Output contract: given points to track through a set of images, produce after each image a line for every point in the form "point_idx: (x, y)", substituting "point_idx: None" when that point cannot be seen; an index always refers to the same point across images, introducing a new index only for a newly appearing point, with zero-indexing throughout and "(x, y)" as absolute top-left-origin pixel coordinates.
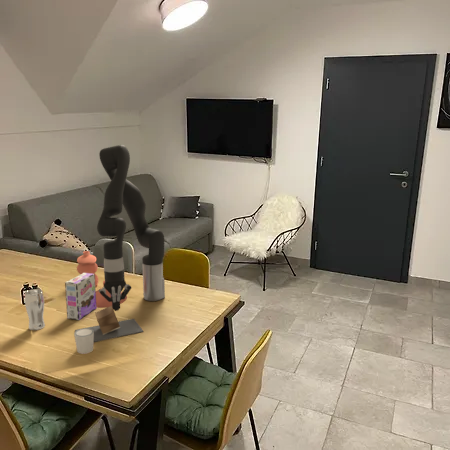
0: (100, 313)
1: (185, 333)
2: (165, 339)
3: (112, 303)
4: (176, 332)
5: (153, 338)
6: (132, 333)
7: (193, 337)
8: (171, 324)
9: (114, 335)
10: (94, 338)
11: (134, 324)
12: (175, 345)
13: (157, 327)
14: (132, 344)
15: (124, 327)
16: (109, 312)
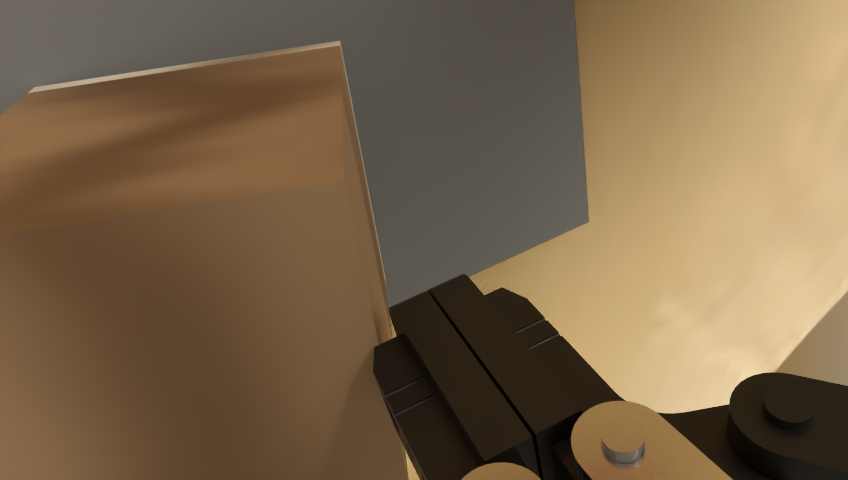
0: (63, 390)
1: (828, 248)
2: (688, 338)
3: (428, 470)
4: (791, 232)
5: (622, 329)
6: (483, 266)
7: (834, 301)
8: (833, 73)
9: None
10: None
11: (535, 45)
12: (708, 403)
13: (715, 127)
14: None
15: (410, 123)
16: (302, 449)
